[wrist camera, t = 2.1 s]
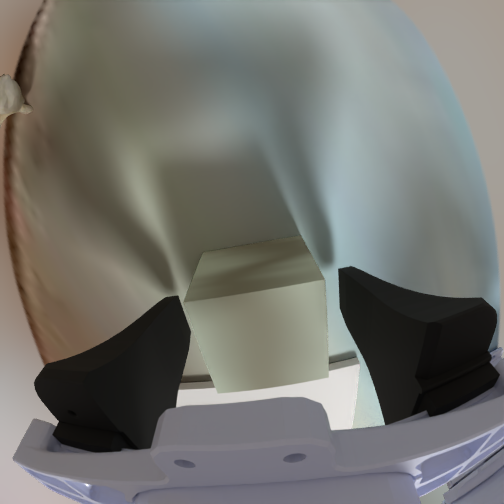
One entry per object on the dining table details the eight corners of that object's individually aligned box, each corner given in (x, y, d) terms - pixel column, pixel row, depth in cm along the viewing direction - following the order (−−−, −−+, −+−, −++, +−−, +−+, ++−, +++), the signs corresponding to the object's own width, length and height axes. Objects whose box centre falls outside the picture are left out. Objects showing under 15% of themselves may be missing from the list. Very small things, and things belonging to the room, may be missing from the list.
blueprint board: (357, 357, 15) (360, 364, 15) (345, 454, 20) (346, 459, 20) (95, 382, 16) (91, 388, 16) (166, 468, 21) (165, 473, 21)
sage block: (300, 234, 13) (324, 279, 8) (309, 316, 14) (328, 377, 10) (203, 251, 13) (183, 302, 9) (224, 329, 15) (217, 393, 10)
